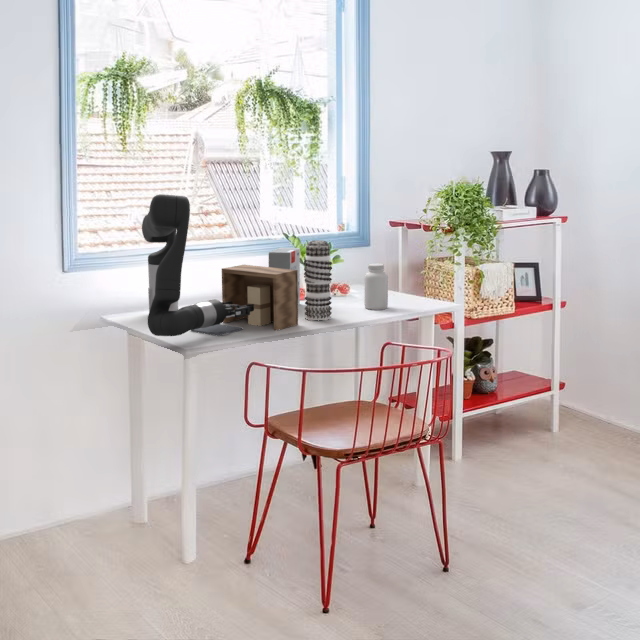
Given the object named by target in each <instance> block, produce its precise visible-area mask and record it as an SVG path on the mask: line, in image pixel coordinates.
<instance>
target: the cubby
mask: <svg viewBox="0 0 640 640" xmlns="http://www.w3.org/2000/svg"><path fill="white" fill-rule="evenodd" d="M257 284H259V285H267V286H270V302H271V307H270V317H271V321H273V330H274V331H276V330H277V331H280V330H283V328H284V329H287V328H290V327H291V328H292V327H294V326H297V325H299V309H298V308H299V305H298V273H297V270H292V269H282V268H272V267H269V266H261V265H251V264H241V265H240V264H239V265H234V266H229V267H223V268H221V298H222V299H221V300H222V301H221V302H227V301H232V302H233V304H238V305H239V306H241V305H248V290H247V286H252V285H257ZM235 309H236V307H234V311H235ZM242 318H243V319H248V315H246V316H242V317H238V318H236V317H235V316H231V317H227V318H225V319H224V321H223V322H222V324H223V323H230V321H231V322H233V321H234V320H235V321H239V320H242ZM238 319H239V320H238ZM235 321H234V322H235ZM279 329H280V330H279Z"/></svg>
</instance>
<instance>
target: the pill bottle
mask: <svg viewBox="0 0 640 640" xmlns="http://www.w3.org/2000/svg"><path fill="white" fill-rule="evenodd" d="M367 266H368V267H367V269H368V272H365V275H364V308H365V309H367V310H371V309H372V310H371V311H373V310H374V311H380V310H381V311H382V310H386V309H387V308H388V307H389V287H388V286H389V275H388V273H387V272H385V264H383V263H377V262H375V263H369V264H368V265H367Z"/></svg>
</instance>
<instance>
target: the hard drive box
mask: <svg viewBox="0 0 640 640" xmlns="http://www.w3.org/2000/svg"><path fill="white" fill-rule="evenodd" d="M300 251H301V248H300V247H278V248H276V249H274V250H271V251H269V252H268V267H272V268H282V269H292V270H297V273H298V304H299V305H300V303H301V301H300V300H301V299H300V297H301V296H300V293H301V287H300V284H301V283H300V281H301V278H300V275H301V274H300V270H301V267H300V265H301V261H300V259H301V258H300V256H301V252H300Z"/></svg>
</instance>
